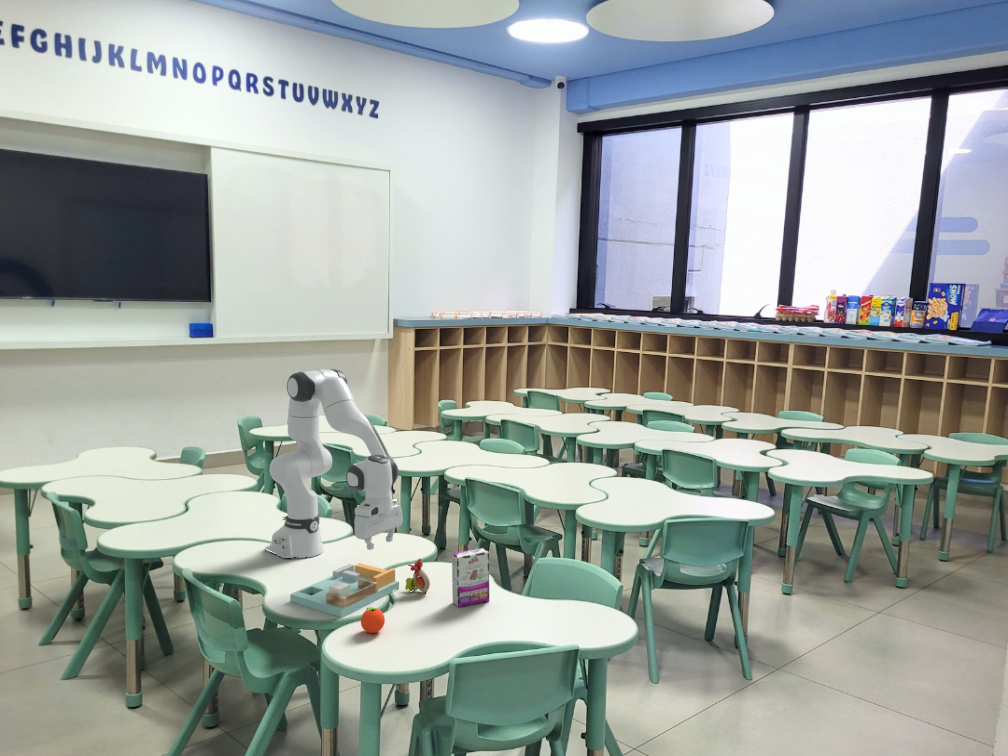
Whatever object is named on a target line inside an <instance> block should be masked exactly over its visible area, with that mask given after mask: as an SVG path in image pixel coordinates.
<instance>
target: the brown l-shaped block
mask: <svg viewBox="0 0 1008 756" xmlns="http://www.w3.org/2000/svg"><path fill="white" fill-rule="evenodd" d="M358 588H360V589H361V590H359V591H356V592H354V593H352V594H350V595H348V596H346V597H343V596H340V595H337V594H333V593H330V592H328V593H326V603H328V604H332V605H335V606H338V607H342V608H346V607H348V606H350V605H352V604H354V603H356V602H358V601H360V600H362V599H364V598H366V597H368V596H370V595H372V594H375V593H377V592H378V583H377V582H374V581H370V580H366V579H362V578H359V579H358Z"/></svg>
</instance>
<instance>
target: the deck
mask: <svg viewBox="0 0 1008 756" xmlns="http://www.w3.org/2000/svg"><path fill="white" fill-rule="evenodd" d="M354 572H355V569H354ZM360 578H362V579H366V580H370V581H373V579H372V578H368V577H364V576H361V575H360ZM337 582H342V583H346V584H349V585H350V594H352V593H354V592H356V591H359V590H361V589H360V588H358V581H357V582H353V581H350V580H346V579H342V577H340V578H338V579H337V578H333V575H332V576H329V577H326V578H324V579H322V580H319V581H317V582H315V583H312V584H310V585H308V586H306V587H304V588H302V589H299V590H296V591H294V592H292V593H290V595H289V597H290V598H289V600H290V601H292V602H291V603H293V602H295V603H294V604H297V603H298V604H297V605H299V606H304V607H307V608H309V607H310V609H312V610H317V611H320V612H322V613H325V614H329V615H332V616H335V617H338V618H341V617H342V618H343V616H344V617H346V616H347V615H350V614H352V613H354V612H356V611H358V610H359V609H361V608H363V607H366V606H367V605H369V604H372V603H374V602H376V601H377V600H379V599H381V598H384V597H386V596H388V595H390V594H392V593H393V592H392V591H393V590H395V589H397V588H399V589H400V581H398V580H395V581H394V582H392V583H390V584H388V585H386V586H384V587H382V588H380V589H378V592H377V593H375V594H372V595H370V596H368V597H366V598H364V599H362V600H360V601H358V602H356V603H354V604H352V605H350V606H348V607H346V608H342V607H338V606H335V605H332V604H328V603H326V593H328V592H329V586H331V585H333V584H335V583H337ZM391 592H392V593H391Z"/></svg>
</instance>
